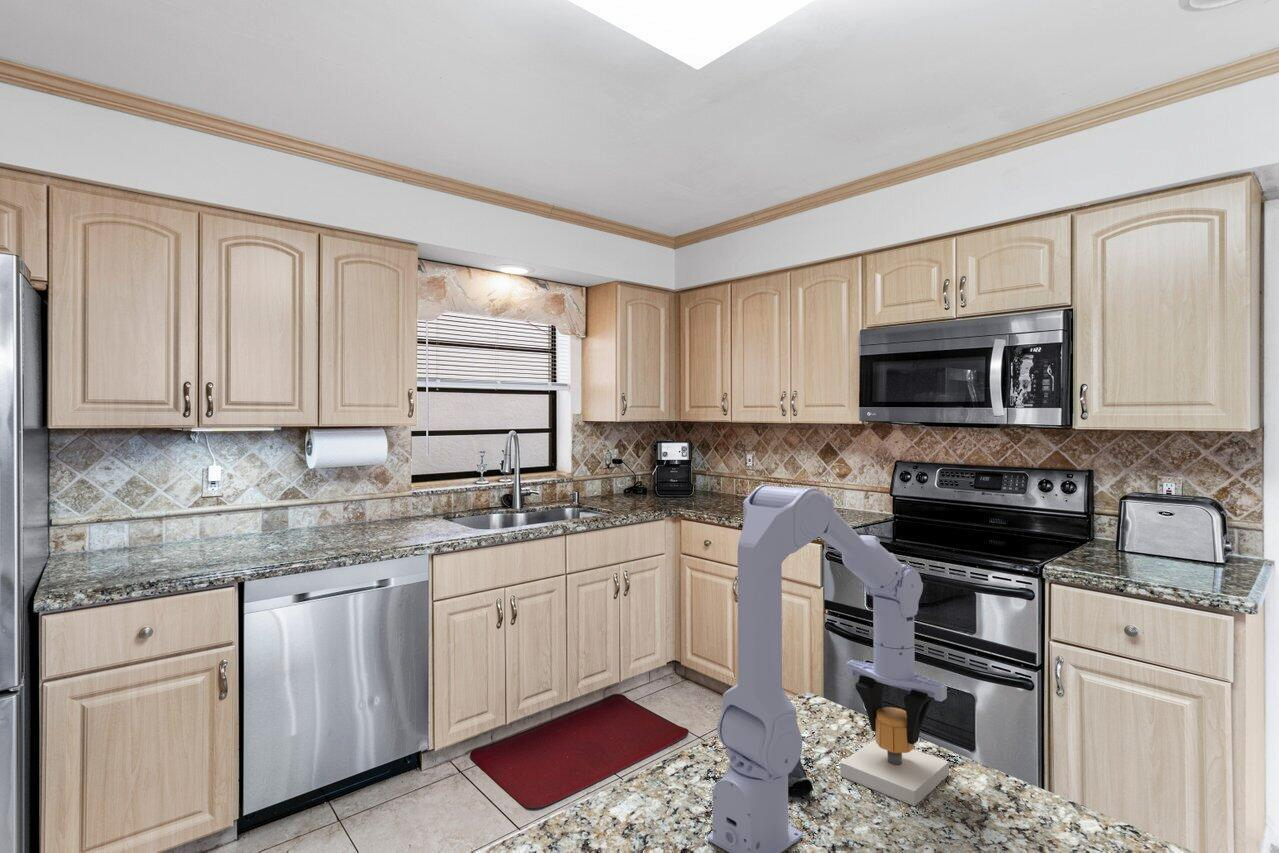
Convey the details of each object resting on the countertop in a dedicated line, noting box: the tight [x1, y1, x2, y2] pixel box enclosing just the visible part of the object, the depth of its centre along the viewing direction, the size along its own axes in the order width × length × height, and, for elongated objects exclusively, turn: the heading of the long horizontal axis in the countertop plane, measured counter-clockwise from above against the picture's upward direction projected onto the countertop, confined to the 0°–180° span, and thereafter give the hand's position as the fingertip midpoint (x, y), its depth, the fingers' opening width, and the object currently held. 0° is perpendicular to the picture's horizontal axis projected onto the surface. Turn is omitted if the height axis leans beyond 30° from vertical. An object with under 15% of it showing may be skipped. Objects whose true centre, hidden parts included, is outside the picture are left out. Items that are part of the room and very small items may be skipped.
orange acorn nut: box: [875, 706, 915, 753], centre depth 96 cm, size 5×5×4 cm
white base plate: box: [839, 738, 950, 807], centre depth 96 cm, size 12×11×5 cm
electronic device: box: [788, 755, 814, 798], centre depth 97 cm, size 9×6×15 cm
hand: (894, 735), depth 96 cm, fingers closed on orange acorn nut, 5 cm apart
